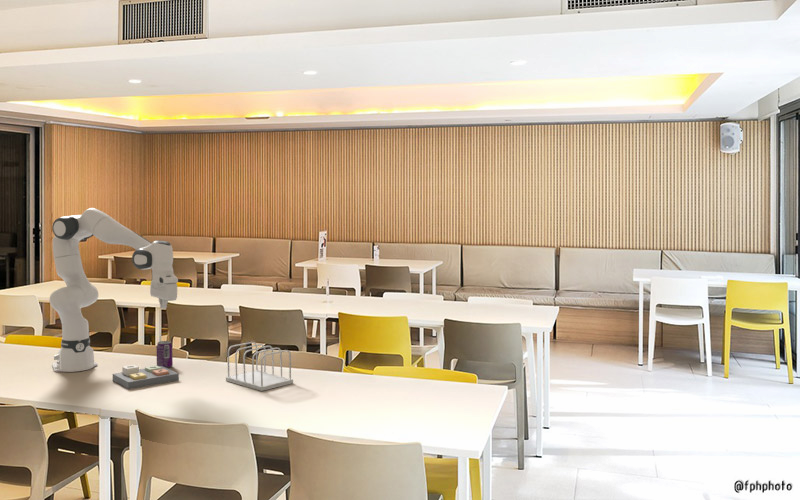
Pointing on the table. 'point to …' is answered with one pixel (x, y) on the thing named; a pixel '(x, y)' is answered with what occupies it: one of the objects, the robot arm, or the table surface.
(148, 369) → the sage key
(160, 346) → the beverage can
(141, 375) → the ochre key
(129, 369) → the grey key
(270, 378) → the file sorter
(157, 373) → the terracotta key
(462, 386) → the table surface
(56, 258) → the robot arm
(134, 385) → the keypad base
